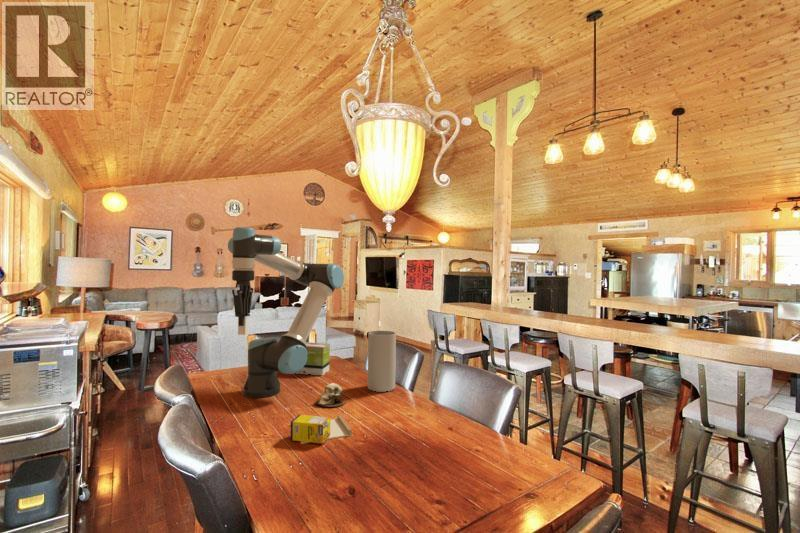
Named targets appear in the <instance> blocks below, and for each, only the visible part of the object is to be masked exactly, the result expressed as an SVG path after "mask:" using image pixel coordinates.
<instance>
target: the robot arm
mask: <svg viewBox="0 0 800 533" xmlns="http://www.w3.org/2000/svg"><path fill="white" fill-rule="evenodd" d="M227 249H228V251H229V252H230V254H232V260H231V264H232V269H233V270H232V271H231V280H232V281H235V289H232V290H231V293H232V297H233V307H234V316H235V318H236V317H237V321H238V322H237V335H239V336H246V335H247V334H248V317H250V316H251V308H252V300H253V291H254V287H251V281H253V282H254V280H255V265H256V264H255V262H257V263H259V264H261V265H264V266H265V267H267V268H270V269H272V270H274V271H277V272H279V273H281V274H284V275H286V276H287V277H288V278H289V279H290V280H291V281H294V282H296V283H298V284H301V285H303V286H306V287H308V288H310V289H309V290H308V292H307V294H306V296H305V298H304V300H303V302H302V304H301V306H300V308H299V309H298V312H297V314H296V315H295V318H294V320H293V321H292V323H291V325H290V327H289V329H288V331H287V333H284V334H282V335H281V336H280V338H279V341H278V338H277V337H273V336H272V337H271V336H270V337H264V338H263V337H262V338H256V339H253V340H250V341H249V342H248V347H247V377H246V378H245V382H244V385H243V386H242V387H243V388H242V395H243V396H244V397H247V398H254V399H255V398H257V399H258V398H267V397H272V396H275V395H277V394H279V393H280V392H281V383H280V380H279V378H278V374H277V372H278V373H282V374H288V375H290V374H291V375H294V374H295V373H297V372H299V371H300V370H301V369H302V368H303V367H304V365H305V364H306V361H307V355H308V353H307V350H306V348H307V345H306V342H307V340H308V337H309V335H310V333H311V331H312V329H313V327H314V325H315V323H316V321H317V319H318V318H319V315H320V313H321V311H322V308H323V307H324V305H325V302H326V301H327V299H328V297H331V296H333V294H334V292H335V290H338V289H341V288H342V286H344V282H345V281H344V280H345V276H344V275H345V274H344V271H343V268H342V267H341V266H340V265H339V264H338V263H308V262H307V263H306V262H303V261H300V260H295V259H292V258H290V257H288V256H286V255H284V254H282V253H280V251H281V250H282V241H281V239H280V238H279V237H277V236H275V235H272V234H271V235H266V234H256V231H255V228H252V227H246V226H241V227H240V226H239V227H234V228H233V230H232V237H231V238H230V239H229V240H228V242H227Z"/></svg>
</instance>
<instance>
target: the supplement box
mask: <svg viewBox="0 0 800 533" xmlns="http://www.w3.org/2000/svg"><path fill="white" fill-rule="evenodd" d="M330 420H331V417H330V416H321V415H320V416H319V415H318V416H316V415H309V414H308V415H305V414H299V415H297V416H296V417H295V418H294V419H292V420H291V421H290V441H292V442H293V441H295V442H300V441H303V442H310V443H313V444H324V443H325V442H326V441H327V438H328V437H329V436H330Z"/></svg>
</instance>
